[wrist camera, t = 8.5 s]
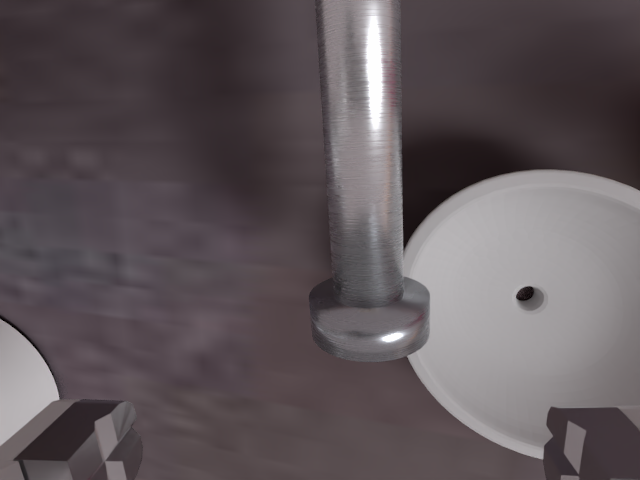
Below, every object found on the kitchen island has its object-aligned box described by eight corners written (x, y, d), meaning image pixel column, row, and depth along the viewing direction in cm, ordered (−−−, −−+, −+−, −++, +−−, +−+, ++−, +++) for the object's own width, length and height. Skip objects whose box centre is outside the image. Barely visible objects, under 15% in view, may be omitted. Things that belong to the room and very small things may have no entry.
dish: (339, 278, 25) (331, 312, 20) (513, 99, 21) (553, 90, 16) (531, 443, 27) (565, 511, 22) (731, 306, 22) (827, 354, 18)
